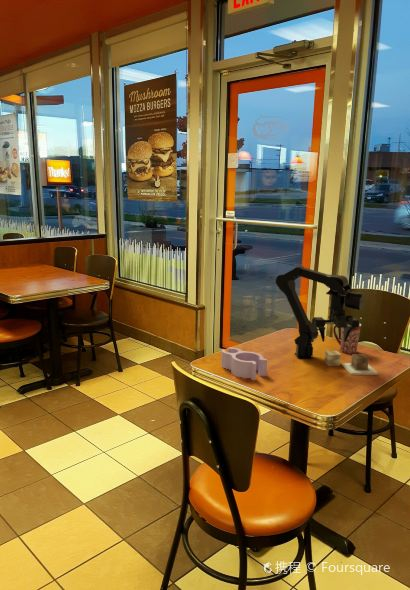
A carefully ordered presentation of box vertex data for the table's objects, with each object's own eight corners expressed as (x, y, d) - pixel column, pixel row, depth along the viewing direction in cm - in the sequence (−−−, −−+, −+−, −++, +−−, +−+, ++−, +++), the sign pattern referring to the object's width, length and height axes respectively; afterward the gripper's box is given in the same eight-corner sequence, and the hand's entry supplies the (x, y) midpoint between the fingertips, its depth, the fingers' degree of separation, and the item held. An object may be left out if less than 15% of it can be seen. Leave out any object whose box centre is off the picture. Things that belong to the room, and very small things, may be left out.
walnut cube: (355, 369, 184) (356, 358, 183) (351, 365, 189) (352, 354, 188) (367, 369, 184) (368, 358, 183) (362, 365, 189) (363, 354, 188)
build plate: (351, 374, 181) (351, 372, 181) (341, 364, 192) (341, 362, 192) (377, 374, 182) (377, 372, 182) (366, 364, 193) (366, 362, 192)
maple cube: (328, 366, 190) (329, 354, 189) (324, 361, 195) (325, 350, 194) (339, 365, 191) (340, 354, 190) (335, 361, 196) (336, 350, 195)
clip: (214, 367, 186) (214, 351, 185) (235, 360, 194) (235, 345, 193) (249, 382, 172) (250, 365, 170) (271, 374, 180) (272, 358, 178)
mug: (362, 351, 210) (364, 323, 207) (353, 356, 203) (356, 327, 200) (336, 345, 218) (339, 318, 215) (327, 349, 211) (330, 321, 209)
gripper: (321, 310, 179) (318, 347, 183) (366, 311, 180) (362, 348, 184) (313, 304, 190) (310, 339, 193) (356, 304, 191) (352, 339, 195)
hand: (333, 341), depth 191 cm, fingers open, 9 cm apart
